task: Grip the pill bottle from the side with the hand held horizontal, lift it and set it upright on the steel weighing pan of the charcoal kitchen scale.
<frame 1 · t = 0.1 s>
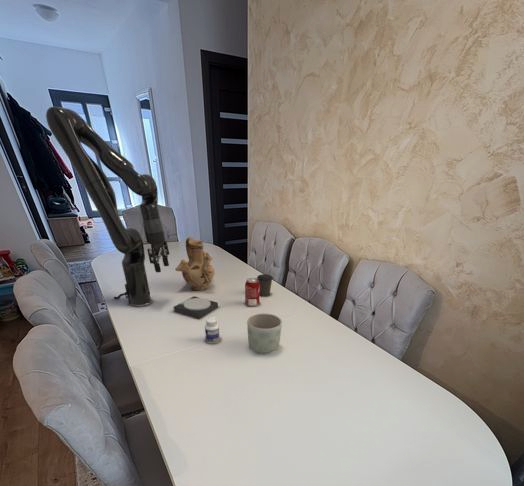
hand: (162, 269, 135), 17 cm above the table, tool pointing down, fingers open, 8 cm apart
planter: (263, 347, 115), on the table
coffee cup: (264, 294, 158), on the table
soda can: (252, 304, 147), on the table
scale: (196, 309, 141), on the table
ceramic vessel: (199, 288, 162), on the table
pill bottle: (212, 340, 118), on the table
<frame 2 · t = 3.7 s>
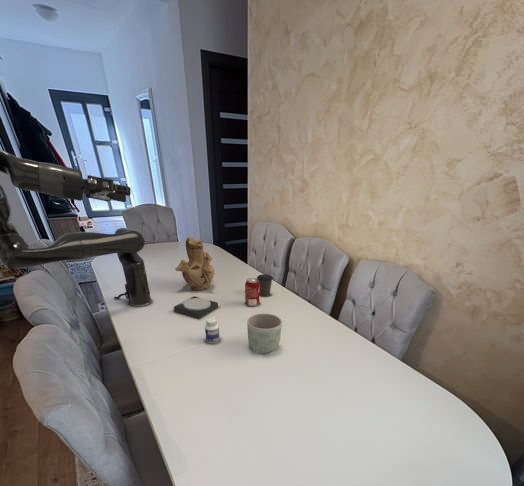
hand: (128, 195, 89), 50 cm above the table, tool horizontal, fingers open, 8 cm apart
nothing on the table moved.
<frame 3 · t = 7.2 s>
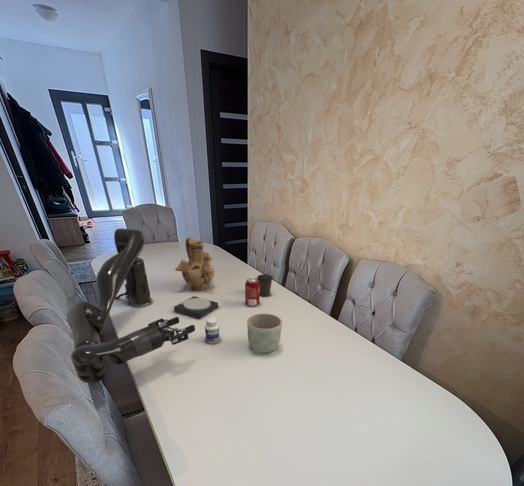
hand: (186, 323, 105), 12 cm above the table, tool horizontal, fingers open, 8 cm apart
nothing on the table moved.
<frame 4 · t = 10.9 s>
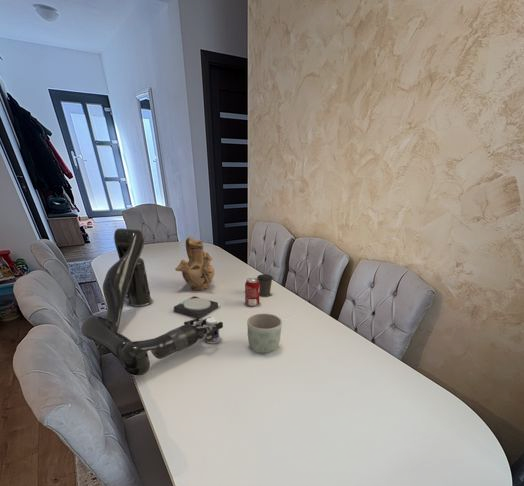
hand: (216, 321, 116), 7 cm above the table, tool horizontal, fingers closed on pill bottle, 5 cm apart
pill bottle: (212, 340, 118), on the table, touching gripper
everything else where it was.
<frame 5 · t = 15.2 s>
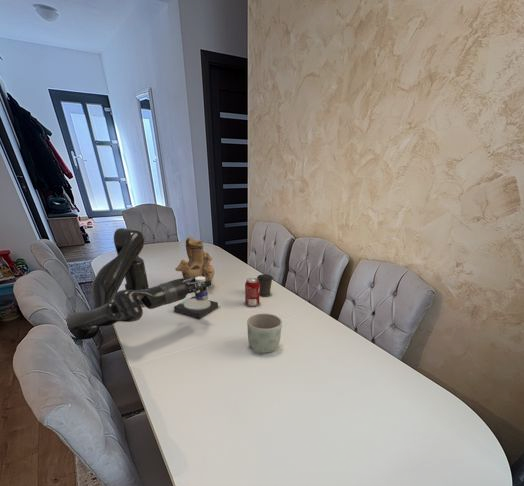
hand: (205, 280, 122), 18 cm above the table, tool horizontal, fingers closed on pill bottle, 5 cm apart
pill bottle: (202, 299, 125), point 10 cm above the table, touching gripper
everything else where it was.
when the fingers open (10 cm above the table, at t = 19.4 s): pill bottle stays where it is, resting on scale.
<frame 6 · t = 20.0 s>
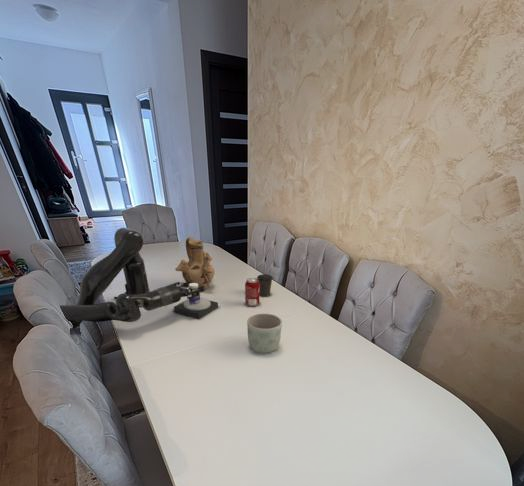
hand: (197, 285, 136), 11 cm above the table, tool horizontal, fingers open, 8 cm apart
pill bottle: (195, 303, 139), point 3 cm above the table, touching scale
everything else where it was.
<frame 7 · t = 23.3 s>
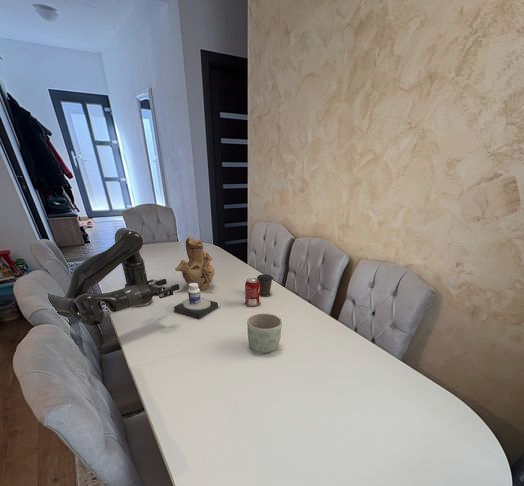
hand: (172, 283, 124), 16 cm above the table, tool horizontal, fingers open, 8 cm apart
nothing on the table moved.
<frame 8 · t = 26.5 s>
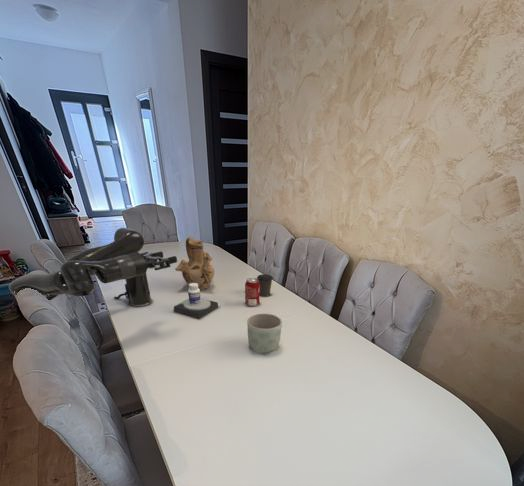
hand: (169, 256, 114), 28 cm above the table, tool horizontal, fingers open, 8 cm apart
nothing on the table moved.
at the end: pill bottle inside the target area on the scale (0.4 cm from its centre), point 3.1 cm above the scale's base; pill bottle tilted 0°; the gripper is holding nothing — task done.
